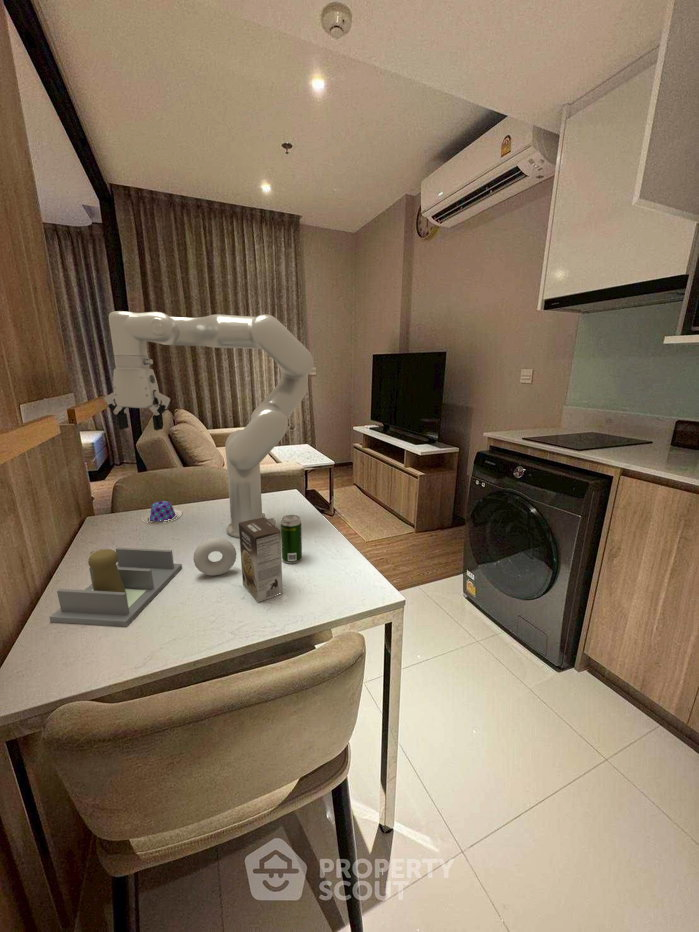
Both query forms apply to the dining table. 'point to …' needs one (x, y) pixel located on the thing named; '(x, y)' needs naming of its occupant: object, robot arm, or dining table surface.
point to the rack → (141, 582)
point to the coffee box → (261, 558)
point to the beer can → (291, 539)
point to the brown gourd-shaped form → (105, 571)
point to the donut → (211, 546)
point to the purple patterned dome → (162, 511)
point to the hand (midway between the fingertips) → (141, 429)
